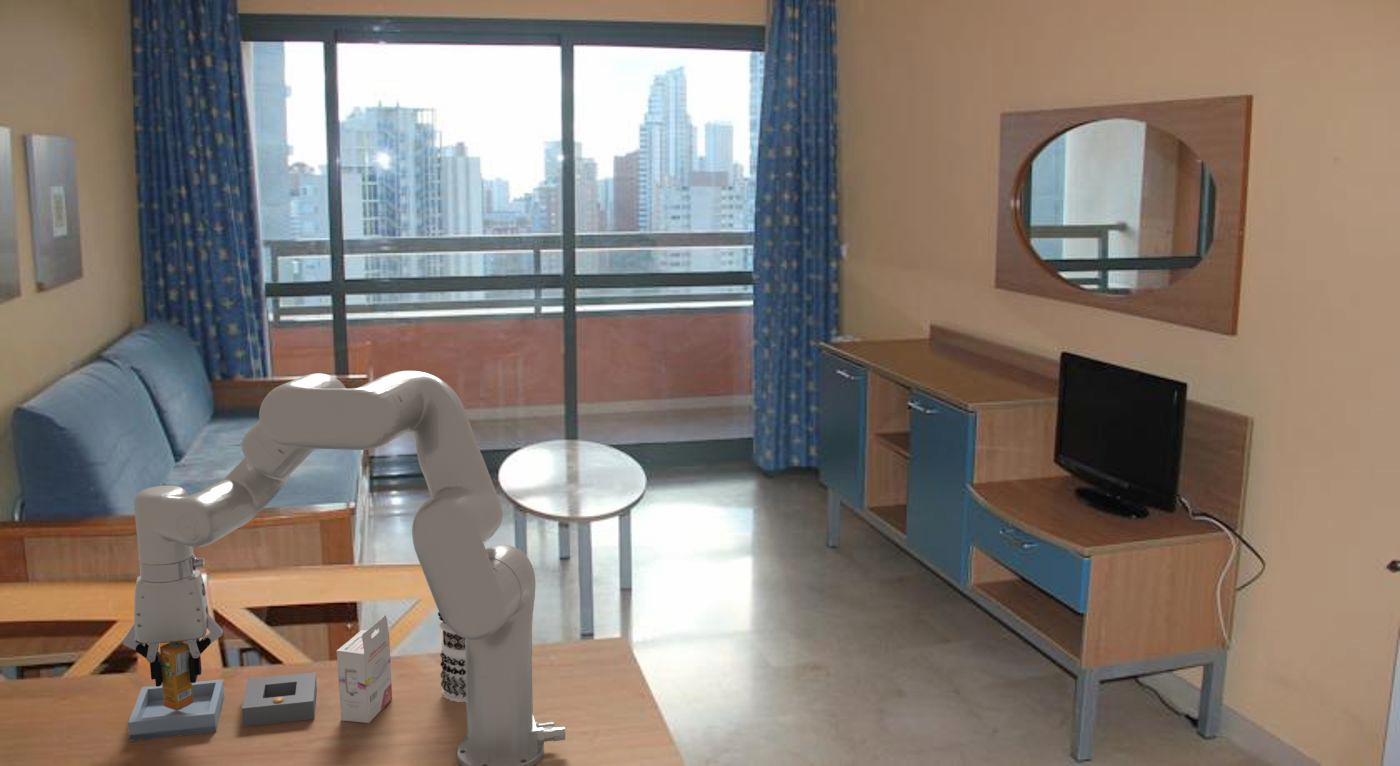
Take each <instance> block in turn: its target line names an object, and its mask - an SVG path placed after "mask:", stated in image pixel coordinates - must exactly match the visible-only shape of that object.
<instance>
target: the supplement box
mask: <svg viewBox="0 0 1400 766" xmlns="http://www.w3.org/2000/svg"><path fill="white" fill-rule="evenodd" d="M159 648H160V654H161V669H162V686H163V703H164V706H165V707H168V708H171V709H174V710H176V711H178V710H180V709H182V708H184V707H186V706H188V705H190V704H192V703H193V693H192V682H190V673H189V657H190V653H191V652H190V649H189V646H188V643H187V642H186V643H185V642H184V641H177V642H167V643H165V644H164V645H162V646H159Z"/></svg>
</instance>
